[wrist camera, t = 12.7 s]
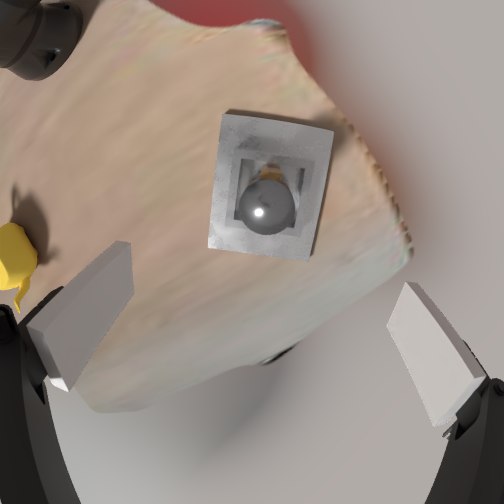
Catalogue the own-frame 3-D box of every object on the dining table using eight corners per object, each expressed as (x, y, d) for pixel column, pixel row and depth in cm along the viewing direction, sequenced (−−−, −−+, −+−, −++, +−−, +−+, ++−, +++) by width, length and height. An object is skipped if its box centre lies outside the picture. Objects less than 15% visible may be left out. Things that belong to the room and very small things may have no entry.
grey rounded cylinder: (245, 207, 36) (236, 231, 27) (250, 162, 34) (242, 169, 24) (285, 212, 36) (290, 238, 26) (292, 167, 33) (300, 177, 24)
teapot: (60, 275, 43) (27, 304, 33) (39, 296, 46) (10, 323, 36) (14, 200, 38) (-24, 217, 28) (-3, 229, 40) (-35, 248, 30)
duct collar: (223, 114, 32) (219, 111, 29) (332, 131, 32) (339, 131, 29) (209, 244, 39) (204, 254, 36) (307, 258, 39) (310, 270, 36)
